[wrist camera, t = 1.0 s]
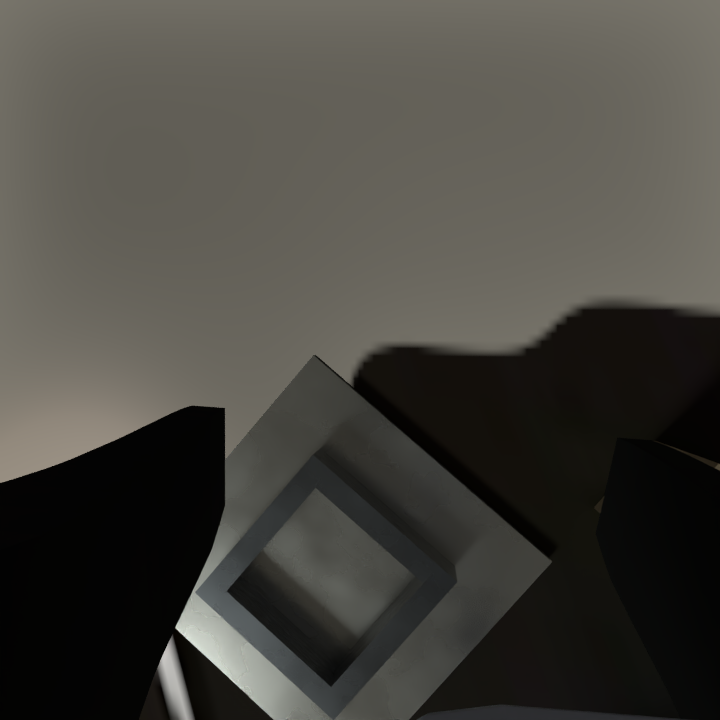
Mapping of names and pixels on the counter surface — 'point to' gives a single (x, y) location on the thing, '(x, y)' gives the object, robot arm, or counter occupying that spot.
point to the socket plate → (348, 562)
